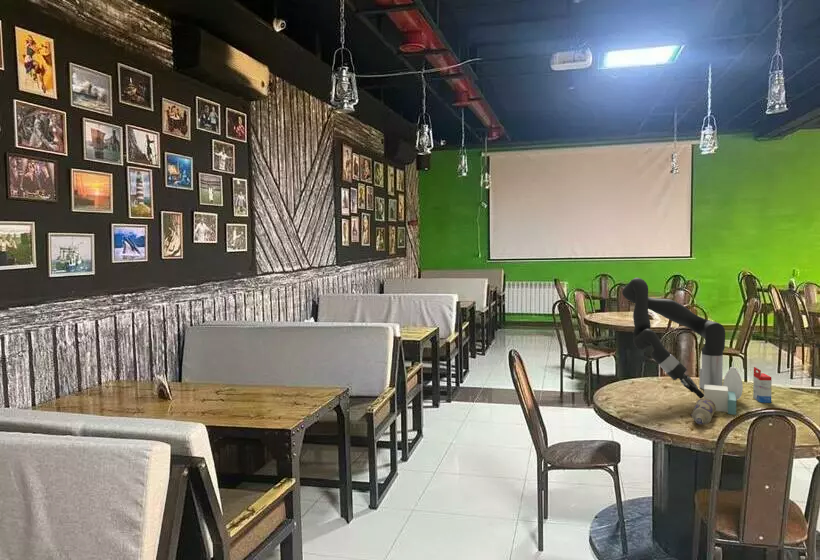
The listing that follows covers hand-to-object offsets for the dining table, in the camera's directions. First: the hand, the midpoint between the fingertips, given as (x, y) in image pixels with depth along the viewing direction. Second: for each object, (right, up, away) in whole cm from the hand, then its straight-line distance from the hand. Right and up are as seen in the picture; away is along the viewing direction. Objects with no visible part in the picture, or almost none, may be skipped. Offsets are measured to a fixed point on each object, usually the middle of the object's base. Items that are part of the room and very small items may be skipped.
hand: (702, 397), depth 256 cm
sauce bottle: (+18, -4, +9) cm, 21 cm away
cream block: (+5, -4, -2) cm, 7 cm away
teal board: (+10, -4, -5) cm, 12 cm away
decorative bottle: (-11, -6, -19) cm, 23 cm away
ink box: (+31, -4, +9) cm, 33 cm away
